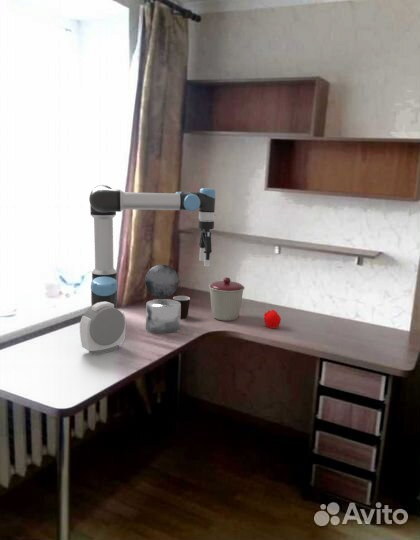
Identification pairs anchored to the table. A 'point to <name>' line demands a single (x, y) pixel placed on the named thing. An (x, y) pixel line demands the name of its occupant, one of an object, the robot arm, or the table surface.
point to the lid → (161, 281)
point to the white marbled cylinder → (163, 316)
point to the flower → (272, 319)
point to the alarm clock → (102, 328)
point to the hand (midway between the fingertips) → (204, 263)
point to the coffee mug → (183, 305)
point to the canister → (226, 299)
